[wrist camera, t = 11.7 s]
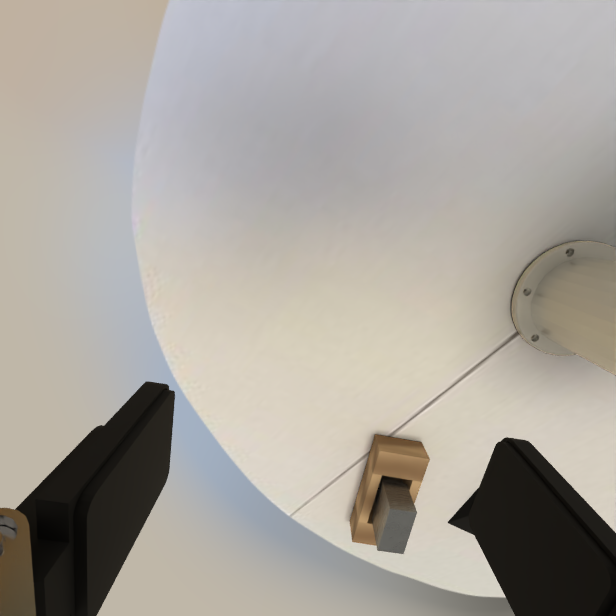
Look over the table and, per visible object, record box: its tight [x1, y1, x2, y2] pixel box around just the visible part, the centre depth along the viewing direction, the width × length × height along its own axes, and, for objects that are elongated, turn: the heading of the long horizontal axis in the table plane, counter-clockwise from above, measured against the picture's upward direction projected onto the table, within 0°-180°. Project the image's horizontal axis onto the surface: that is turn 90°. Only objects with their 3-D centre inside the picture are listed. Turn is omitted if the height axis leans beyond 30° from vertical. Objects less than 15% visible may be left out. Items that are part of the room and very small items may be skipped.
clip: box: [371, 475, 417, 554], centre depth 41 cm, size 6×3×7 cm, turn 170°
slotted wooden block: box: [350, 434, 430, 546], centre depth 43 cm, size 14×6×3 cm, turn 169°
